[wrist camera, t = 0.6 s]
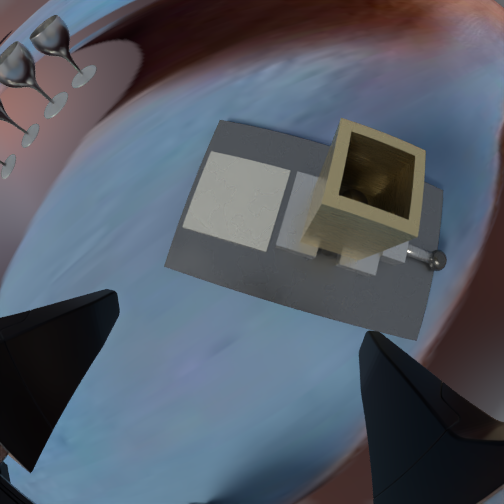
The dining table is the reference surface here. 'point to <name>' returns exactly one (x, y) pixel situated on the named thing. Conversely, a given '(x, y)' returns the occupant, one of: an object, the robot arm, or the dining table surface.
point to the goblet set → (23, 74)
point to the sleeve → (366, 193)
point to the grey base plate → (296, 236)
